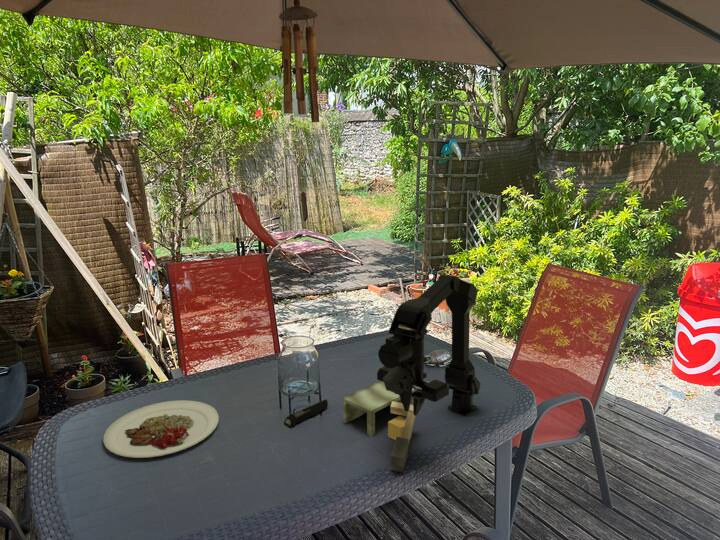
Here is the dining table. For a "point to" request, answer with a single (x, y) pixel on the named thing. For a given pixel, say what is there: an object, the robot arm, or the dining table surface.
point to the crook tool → (402, 437)
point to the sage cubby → (368, 403)
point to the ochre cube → (396, 427)
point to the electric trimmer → (305, 413)
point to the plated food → (161, 429)
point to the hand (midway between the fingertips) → (411, 413)
